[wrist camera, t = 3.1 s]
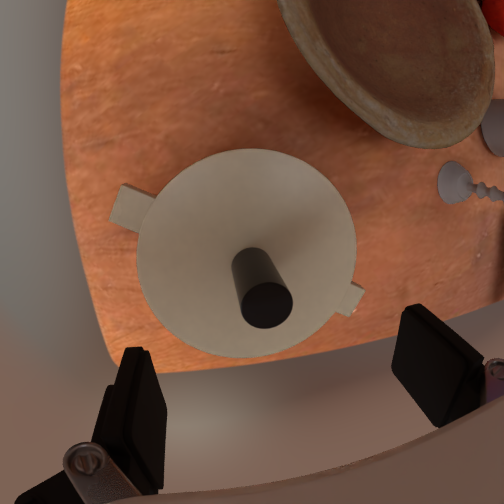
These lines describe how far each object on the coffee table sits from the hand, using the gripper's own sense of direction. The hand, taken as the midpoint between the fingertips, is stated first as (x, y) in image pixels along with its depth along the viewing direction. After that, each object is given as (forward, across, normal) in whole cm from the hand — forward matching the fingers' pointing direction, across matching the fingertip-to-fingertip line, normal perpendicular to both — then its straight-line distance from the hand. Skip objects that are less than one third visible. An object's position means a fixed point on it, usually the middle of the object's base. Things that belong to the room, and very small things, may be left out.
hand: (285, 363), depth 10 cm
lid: (+9, 0, 0) cm, 9 cm away
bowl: (+19, -15, -19) cm, 31 cm away
